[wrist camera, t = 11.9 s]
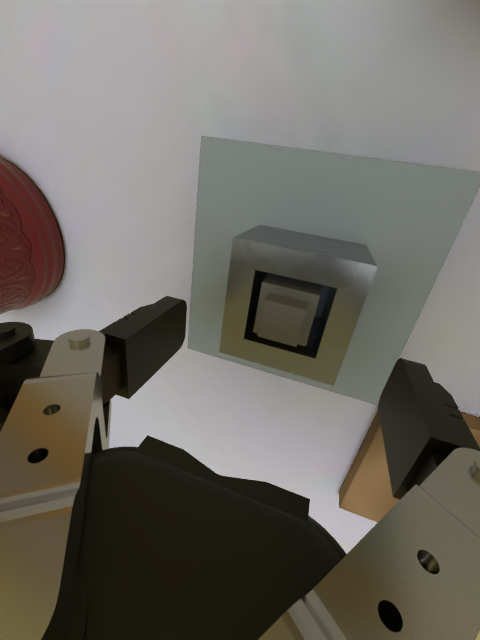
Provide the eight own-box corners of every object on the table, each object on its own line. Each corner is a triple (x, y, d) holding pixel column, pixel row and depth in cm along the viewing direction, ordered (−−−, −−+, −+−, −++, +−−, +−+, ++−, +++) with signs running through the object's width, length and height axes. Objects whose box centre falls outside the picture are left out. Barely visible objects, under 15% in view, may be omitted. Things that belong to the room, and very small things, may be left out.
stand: (585, 448, 18) (684, 551, 13) (486, 546, 24) (528, 647, 18) (387, 391, 21) (404, 459, 15) (339, 491, 26) (339, 567, 21)
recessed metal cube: (366, 244, 15) (377, 266, 11) (334, 338, 18) (334, 385, 14) (259, 224, 17) (232, 237, 12) (245, 315, 19) (219, 352, 15)
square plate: (468, 174, 15) (588, 161, 8) (373, 386, 21) (391, 485, 14) (214, 141, 17) (133, 109, 11) (198, 336, 24) (141, 397, 17)
